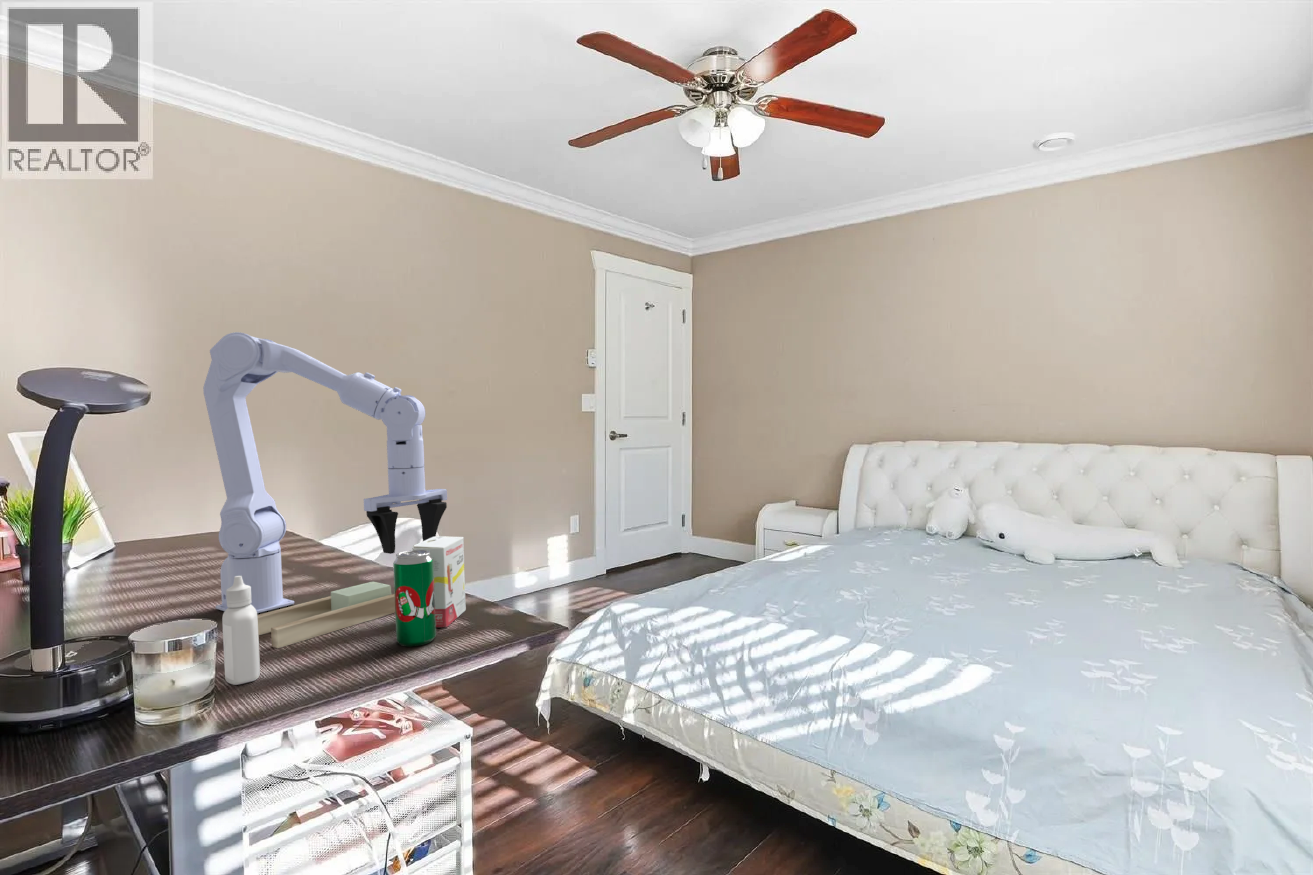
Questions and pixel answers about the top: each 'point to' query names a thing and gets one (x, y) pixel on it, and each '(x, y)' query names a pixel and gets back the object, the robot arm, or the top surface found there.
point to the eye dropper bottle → (240, 635)
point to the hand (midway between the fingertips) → (409, 548)
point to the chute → (319, 619)
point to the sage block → (358, 594)
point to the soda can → (414, 598)
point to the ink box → (447, 576)
